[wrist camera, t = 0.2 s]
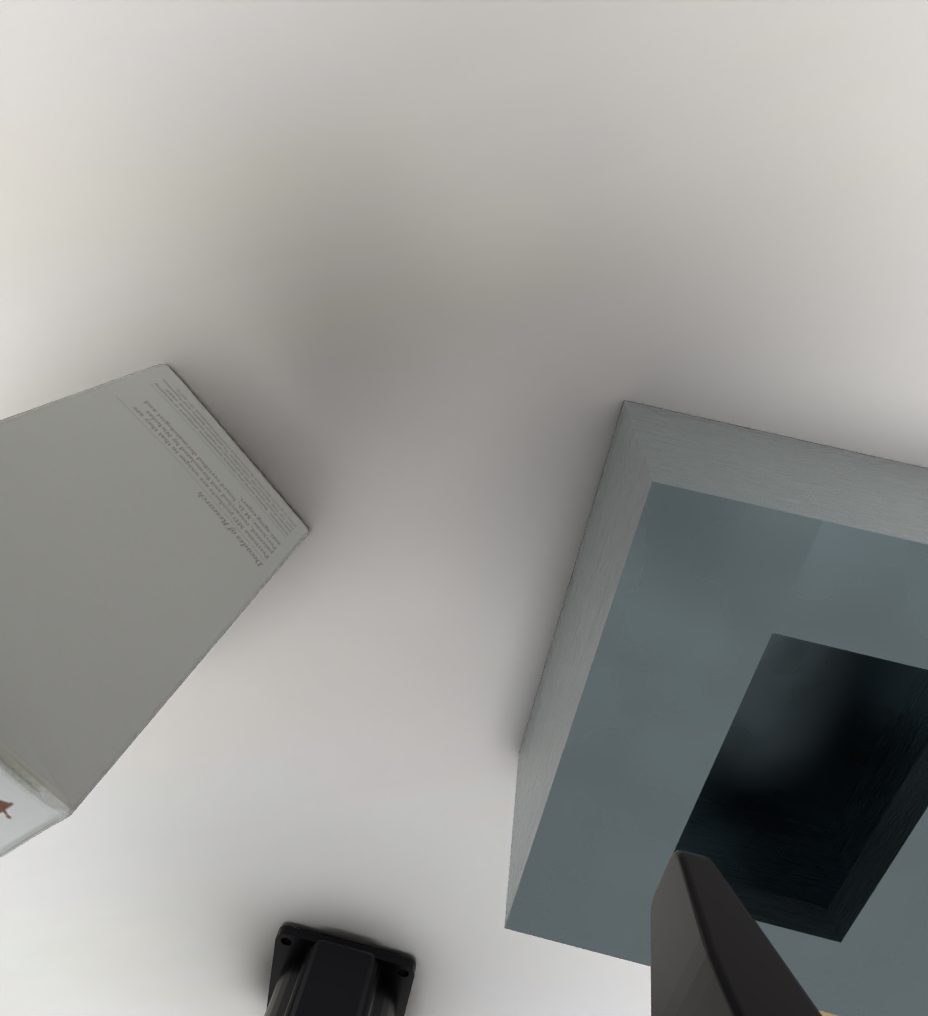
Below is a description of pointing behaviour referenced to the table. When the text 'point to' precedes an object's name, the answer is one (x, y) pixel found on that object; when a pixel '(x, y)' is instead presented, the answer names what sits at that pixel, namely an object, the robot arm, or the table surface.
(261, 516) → the supplement box
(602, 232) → the table surface
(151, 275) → the table surface
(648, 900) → the box
